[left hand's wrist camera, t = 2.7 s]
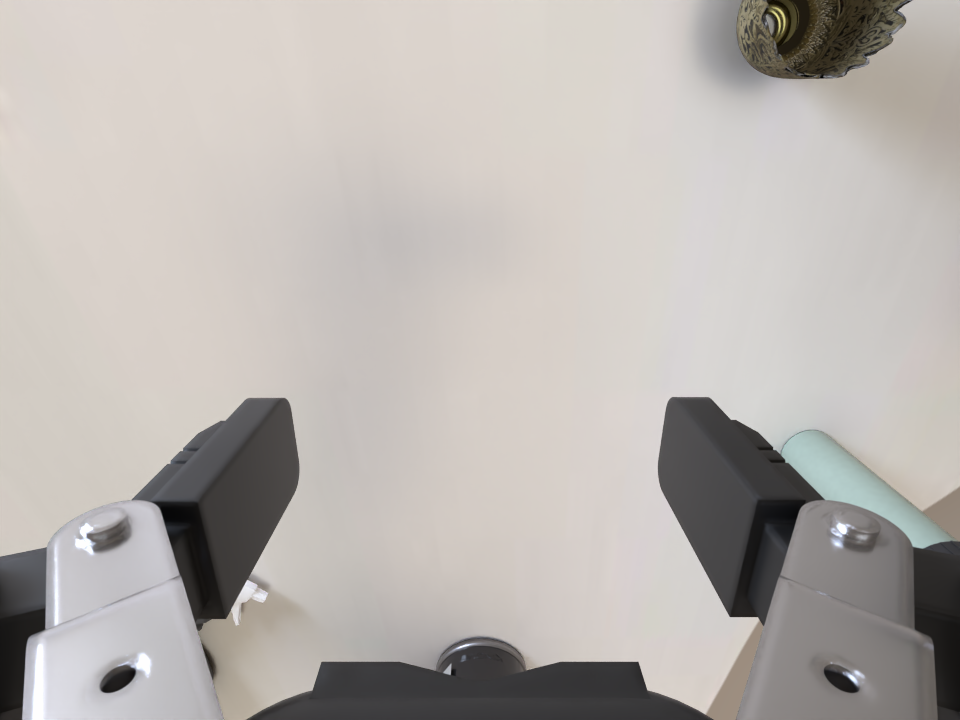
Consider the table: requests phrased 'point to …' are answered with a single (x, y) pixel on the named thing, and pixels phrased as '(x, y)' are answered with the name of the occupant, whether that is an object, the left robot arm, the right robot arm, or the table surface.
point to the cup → (816, 35)
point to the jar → (857, 485)
